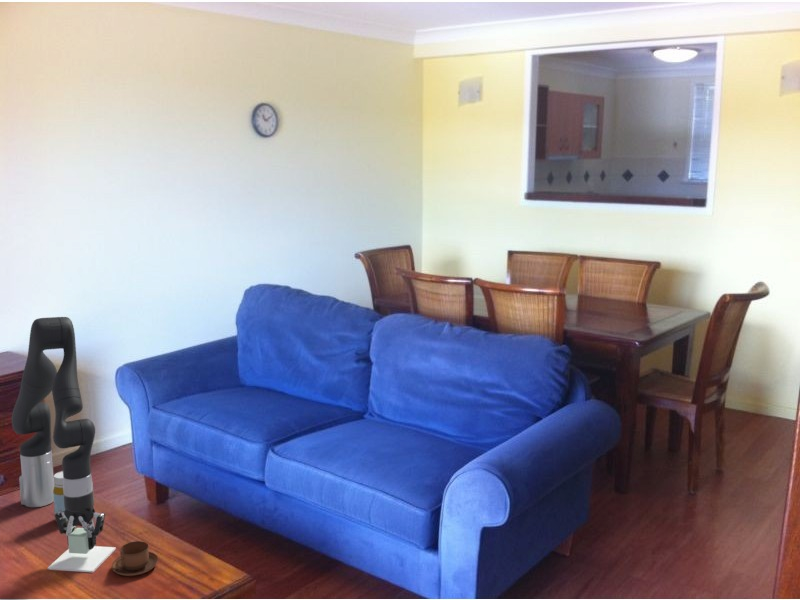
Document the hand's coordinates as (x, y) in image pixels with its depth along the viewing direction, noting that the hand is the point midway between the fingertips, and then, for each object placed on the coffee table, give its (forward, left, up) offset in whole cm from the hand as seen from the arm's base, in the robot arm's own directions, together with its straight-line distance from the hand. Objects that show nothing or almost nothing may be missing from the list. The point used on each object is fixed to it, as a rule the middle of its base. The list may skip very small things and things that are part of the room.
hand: (82, 547), depth 212 cm
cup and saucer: (+17, -3, -4) cm, 17 cm away
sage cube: (0, 0, 0) cm, 0 cm away
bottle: (-17, +22, -4) cm, 28 cm away
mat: (0, 0, -4) cm, 4 cm away
